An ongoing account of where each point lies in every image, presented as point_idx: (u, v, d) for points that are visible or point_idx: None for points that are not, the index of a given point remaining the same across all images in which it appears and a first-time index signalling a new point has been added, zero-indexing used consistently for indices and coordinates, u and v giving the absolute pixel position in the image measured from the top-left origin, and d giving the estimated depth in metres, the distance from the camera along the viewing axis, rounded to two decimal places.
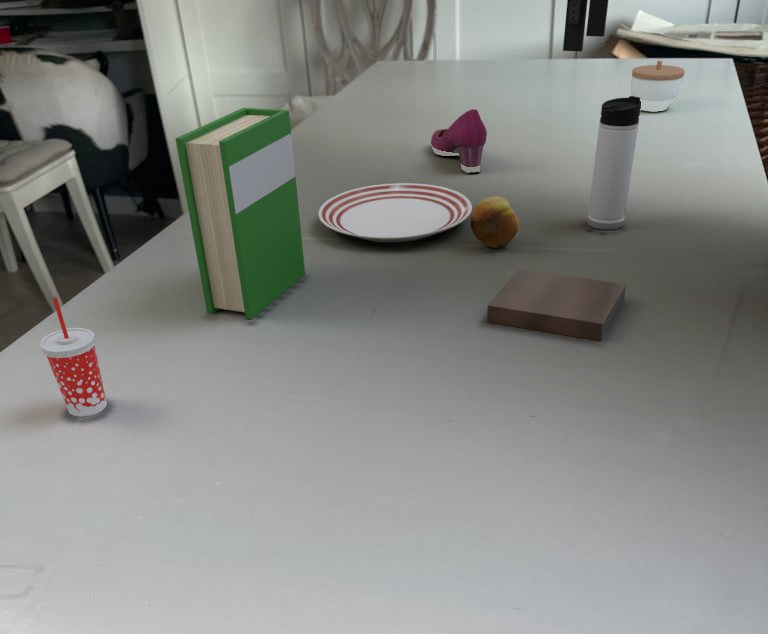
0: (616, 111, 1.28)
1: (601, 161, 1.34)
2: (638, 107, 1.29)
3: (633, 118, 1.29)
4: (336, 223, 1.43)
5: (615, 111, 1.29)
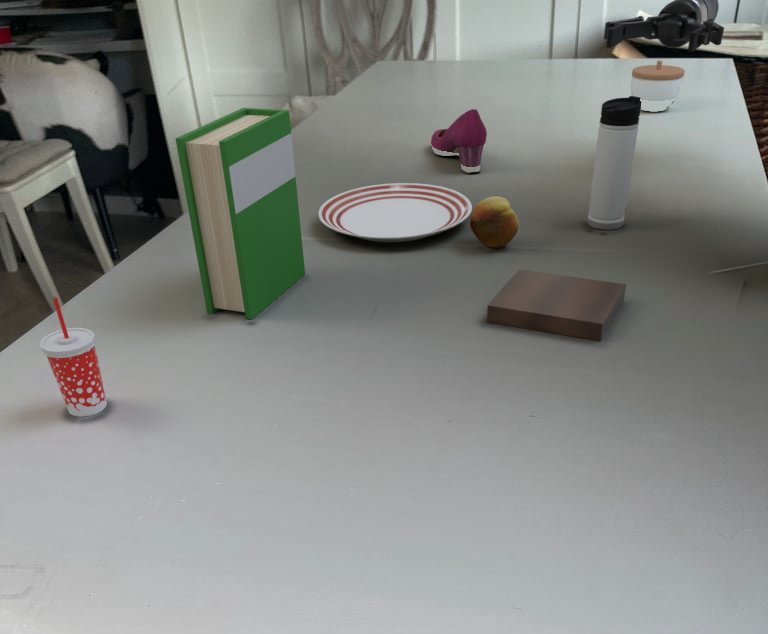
0: (616, 111, 1.28)
1: (601, 161, 1.34)
2: (638, 107, 1.29)
3: (633, 118, 1.29)
4: (336, 223, 1.43)
5: (615, 111, 1.29)
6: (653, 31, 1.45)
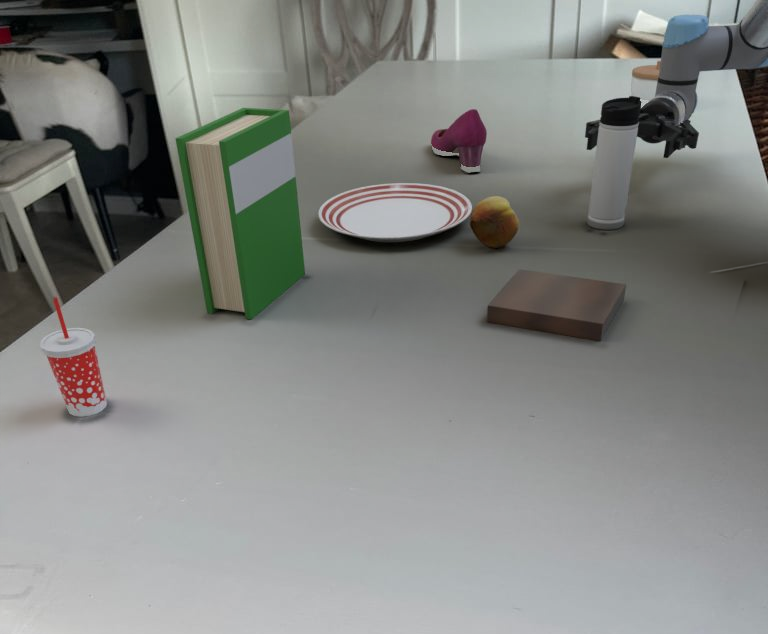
0: (616, 111, 1.28)
1: (601, 161, 1.34)
2: (638, 107, 1.29)
3: (633, 118, 1.29)
4: (336, 223, 1.43)
5: (615, 111, 1.29)
6: None
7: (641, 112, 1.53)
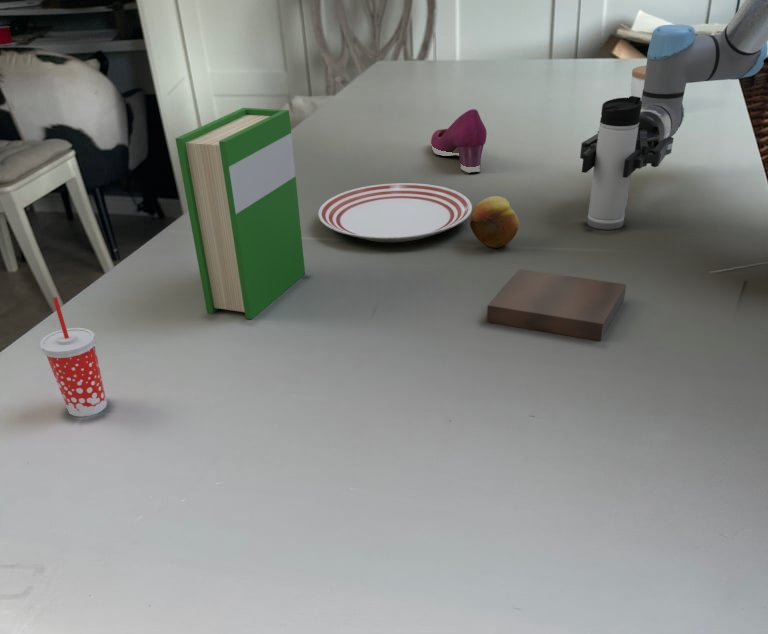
0: (616, 111, 1.28)
1: (601, 161, 1.34)
2: (638, 107, 1.29)
3: (634, 118, 1.29)
4: (336, 223, 1.43)
5: (615, 111, 1.29)
6: None
7: None
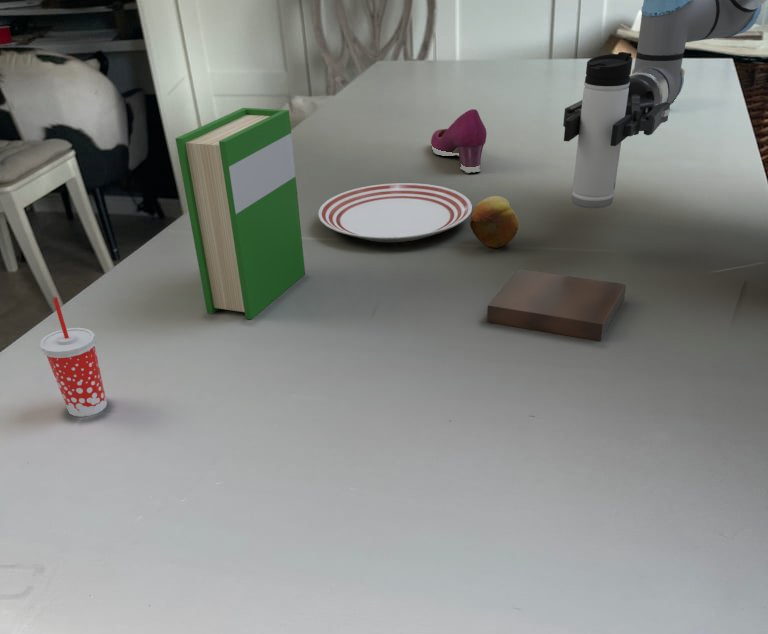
0: (603, 68, 1.11)
1: (586, 128, 1.16)
2: (629, 64, 1.11)
3: (623, 76, 1.11)
4: (336, 223, 1.43)
5: (602, 68, 1.11)
6: None
7: None
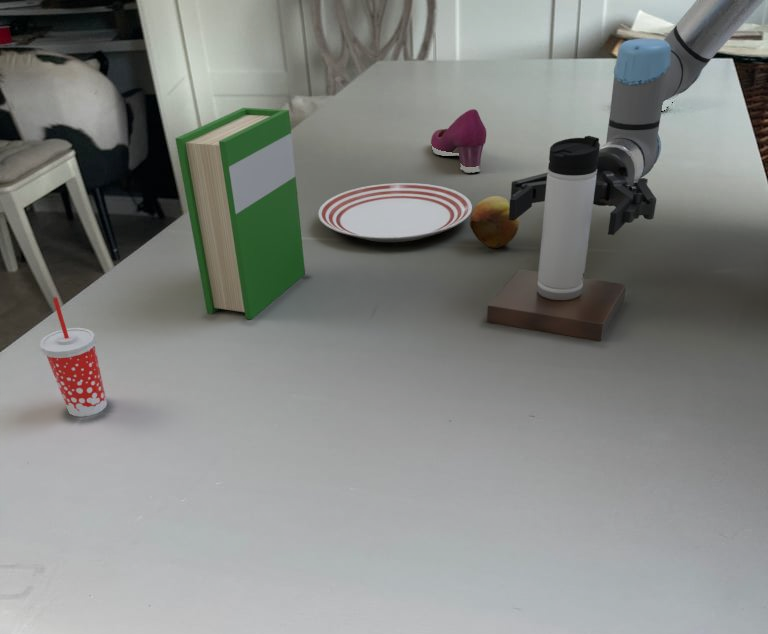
0: (567, 156, 1.00)
1: (550, 218, 1.06)
2: (595, 151, 1.01)
3: (589, 165, 1.01)
4: (336, 223, 1.43)
5: (566, 156, 1.00)
6: None
7: None
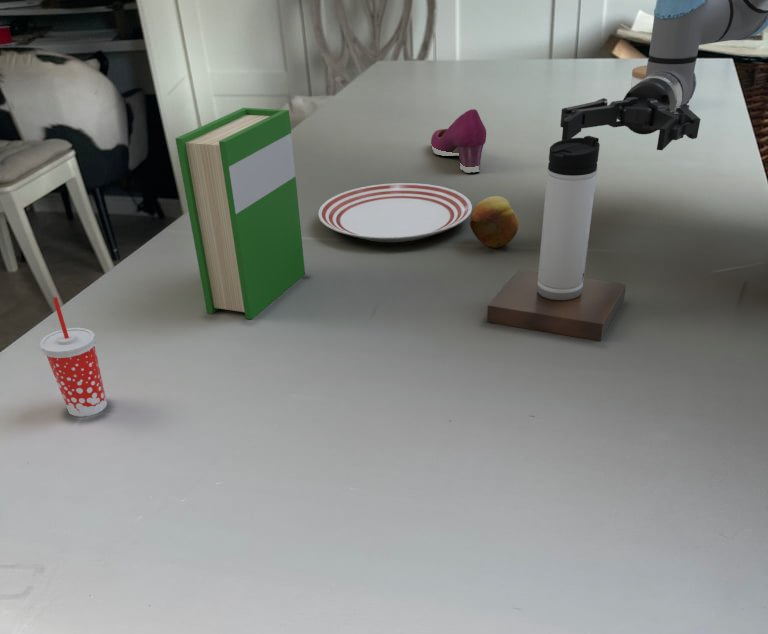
0: (567, 157, 1.00)
1: (550, 218, 1.06)
2: (595, 151, 1.01)
3: (589, 165, 1.01)
4: (336, 223, 1.43)
5: (566, 156, 1.00)
6: (618, 117, 1.23)
7: (629, 96, 1.25)
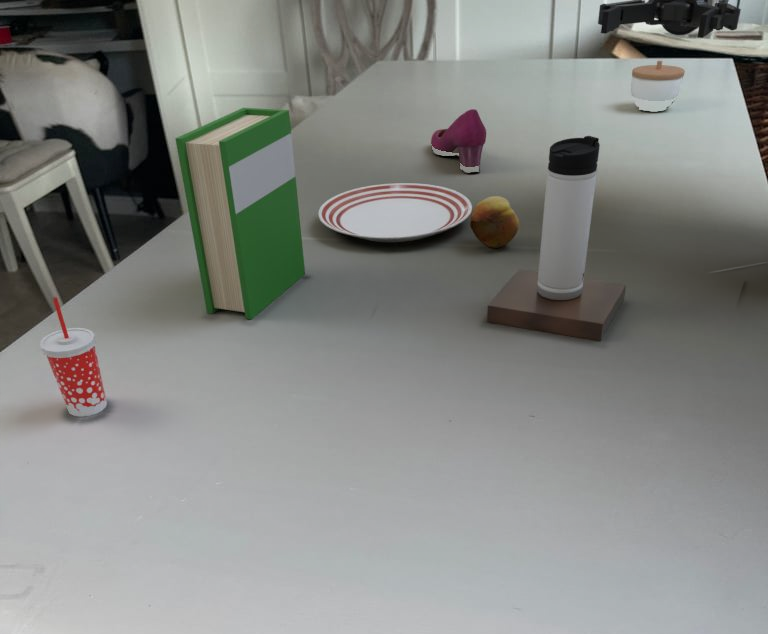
0: (567, 157, 1.00)
1: (550, 218, 1.06)
2: (595, 151, 1.01)
3: (589, 165, 1.01)
4: (336, 223, 1.43)
5: (565, 156, 1.00)
6: (656, 15, 1.23)
7: None
